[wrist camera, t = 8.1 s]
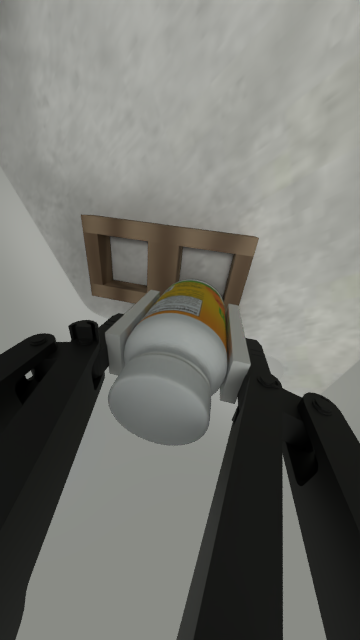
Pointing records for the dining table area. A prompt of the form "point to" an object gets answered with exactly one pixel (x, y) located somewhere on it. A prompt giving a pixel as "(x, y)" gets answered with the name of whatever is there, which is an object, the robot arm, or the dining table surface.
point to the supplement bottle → (173, 366)
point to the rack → (160, 256)
